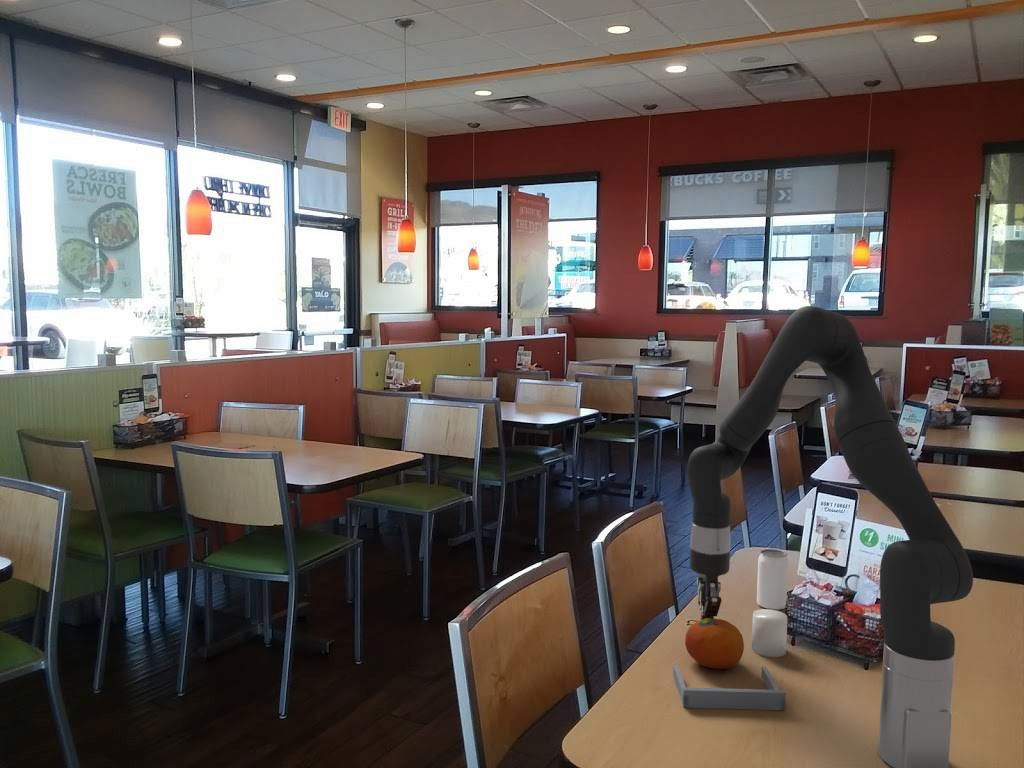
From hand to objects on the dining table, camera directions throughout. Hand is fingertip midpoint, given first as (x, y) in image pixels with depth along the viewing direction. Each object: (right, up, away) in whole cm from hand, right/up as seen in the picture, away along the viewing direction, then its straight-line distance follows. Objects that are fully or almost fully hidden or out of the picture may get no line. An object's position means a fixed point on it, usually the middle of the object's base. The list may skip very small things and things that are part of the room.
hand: (706, 632), depth 161 cm
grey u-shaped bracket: (-1, -5, -18) cm, 18 cm away
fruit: (0, -4, -7) cm, 8 cm away
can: (+20, -1, +23) cm, 31 cm away
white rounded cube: (+12, -3, 0) cm, 12 cm away
